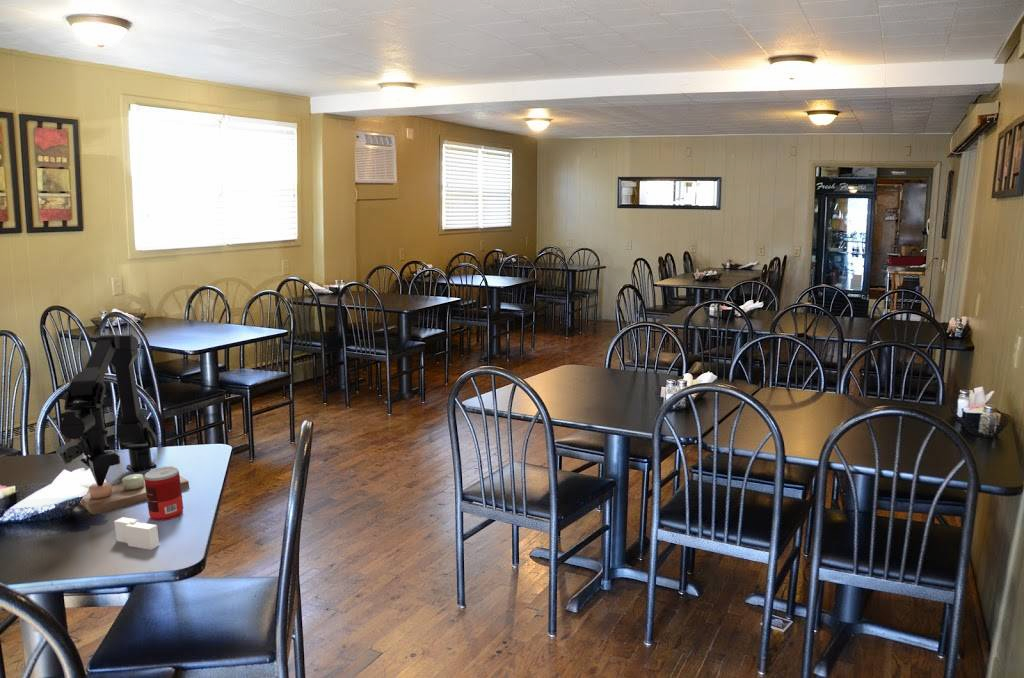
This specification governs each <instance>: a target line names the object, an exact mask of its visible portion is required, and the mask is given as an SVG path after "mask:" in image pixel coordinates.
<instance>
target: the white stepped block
mask: <svg viewBox="0 0 1024 678" xmlns="http://www.w3.org/2000/svg"><path fill="white" fill-rule="evenodd" d="M138 520H139V519H137V518H132V517H131V518H130V517H129V518H128V517H123V516H122V517H120V518H118V519H116V520H114V521H113V522H114V530H115V537H116V542H120V543H125V544H127V546H128V547H132V548H139V549H145V550H151V551H152V550H153V549H155V548H157V547H159V546H160V539H159V538H160V537H159V532H158V525H157V524H153V523H145V522H139V521H138Z"/></svg>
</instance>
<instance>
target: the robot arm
mask: <svg viewBox="0 0 1024 678" xmlns="http://www.w3.org/2000/svg"><path fill="white" fill-rule="evenodd" d="M138 349H139V340H138V338H137V337H136V336H134V335H133V334H132V333H130V334H129V333H128V334H127V333H126V334H100V335H99V336H96V338H95V345H94V347H93V349H92V350H91V353H90V356H89V358H88V360H87V362H86V364H85V367H84V368H83V370H82V371H80V372H78V373H77V374H75V375H74V377H72V379H71V381H70V383H69V384H68V386H67V391H66V396H65V402H64V411H66V417H64V418H63V419H62V420H61V423H60V425H59V430H60V433H61V435H62V436H64V437H65V438H67V439H69V440H70V441H68V442H67V443H64V444H63V445H61V446H59V447H58V448H56V449H55V452H56V454H57V456H58V458H59V459H60V461H61V462H63V463H64V464H65V465H68V464H69V463H71V462H72V461H73V460H75V459H76V458H79V457H80V456H83V458H82V459H80V460H79V461H80V462H82V463H83V464H84V465H85V466H87V467H88V468H89V470H90V472H91V473H92V476H93V479H94V480H95V484H96V483H97V485H98V486H102V485H103V483H104V482H105V480H106V478H107V474H108V472H109V470H110V467H111V466H116V465H119V464H121V459H120V455H119V454H117V453H116V452H114V451H112V450H111V447H110V445H109V444H108V441H107V435H108V434H109V432H108V429H106V427H105V420H104V413H103V405H104V400H105V399H104V398H105V394H106V390H107V388H106V384H105V381H104V378H105V375H106V373H107V371H108V368H109V366H110V364H111V365H112V366H113V368H114V372H115V378H116V386H117V390H118V398H119V402H120V409H121V419H120V421H119V422H118V424H117V426H116V430H117V433H116V438H117V442H118V445H119V447H120V450H122V451H124V450H128V456H129V464H126V468H127V469H129V470H130V471H132V472H134V473H135V472H138V471H143V470H147V469H151V468H156V467H157V464H156V463H155V462H153V461H152V453H151V451H152V450H151V449H152V448H153V447H156V446H157V435H156V433H155V432H154V431H153V428H151V427H150V424H149V420H148V419H147V418H146V417H145V415H144V414H143V413H142V412H141V406H140V401H139V395H138V393H139V392H138V387H137V382H136V381H137V380H136V374H135V368H134V363H135V361H136V359H137V357H138V353H139V352H138Z"/></svg>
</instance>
